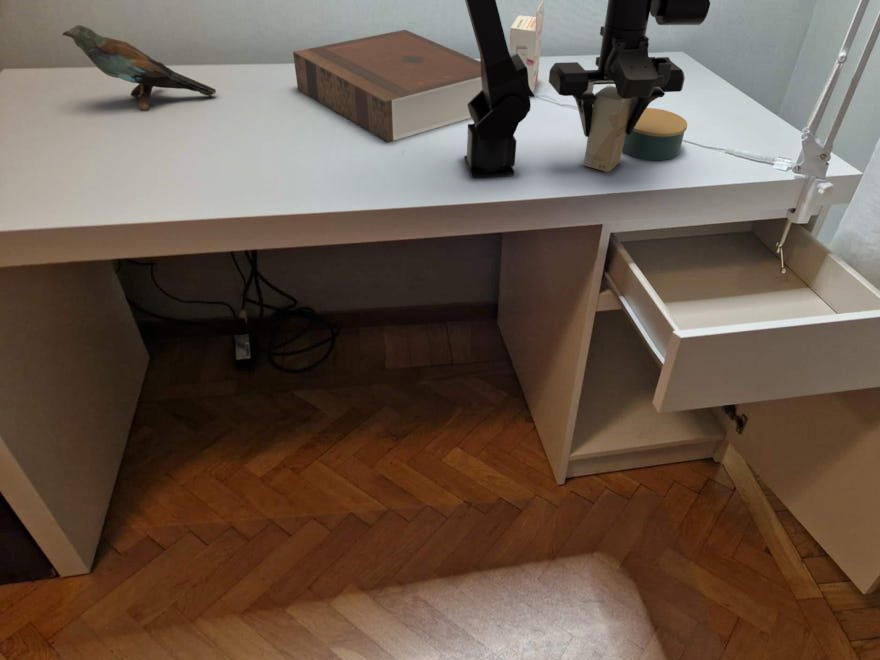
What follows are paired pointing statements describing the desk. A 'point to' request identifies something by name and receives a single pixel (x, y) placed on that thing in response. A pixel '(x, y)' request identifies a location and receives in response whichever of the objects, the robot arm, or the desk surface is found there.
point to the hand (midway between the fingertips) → (606, 134)
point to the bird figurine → (131, 65)
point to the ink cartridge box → (528, 42)
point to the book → (390, 82)
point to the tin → (656, 135)
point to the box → (607, 129)
